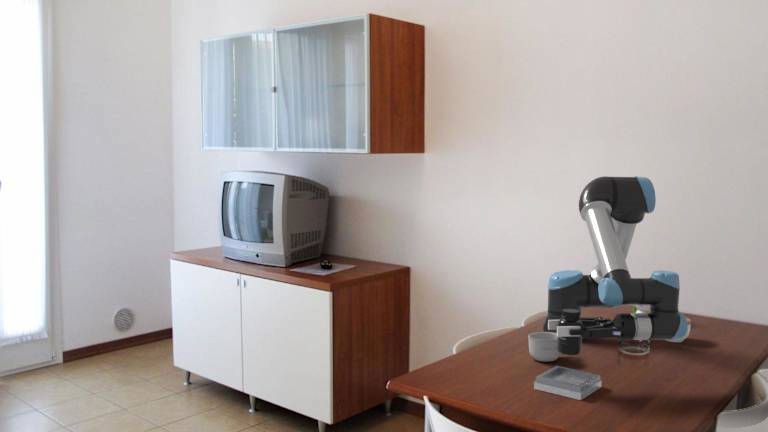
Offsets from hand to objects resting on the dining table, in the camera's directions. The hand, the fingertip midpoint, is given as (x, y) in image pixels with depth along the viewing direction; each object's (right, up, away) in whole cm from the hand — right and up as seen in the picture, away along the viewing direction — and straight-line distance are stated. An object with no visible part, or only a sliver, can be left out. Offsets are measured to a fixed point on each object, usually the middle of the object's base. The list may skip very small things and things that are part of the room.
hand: (552, 328), depth 204 cm
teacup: (+5, -15, +30) cm, 34 cm away
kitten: (+55, -9, +83) cm, 99 cm away
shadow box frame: (+5, -17, +2) cm, 18 cm away
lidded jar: (+55, -13, +53) cm, 77 cm away
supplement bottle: (+5, -7, +1) cm, 9 cm away
